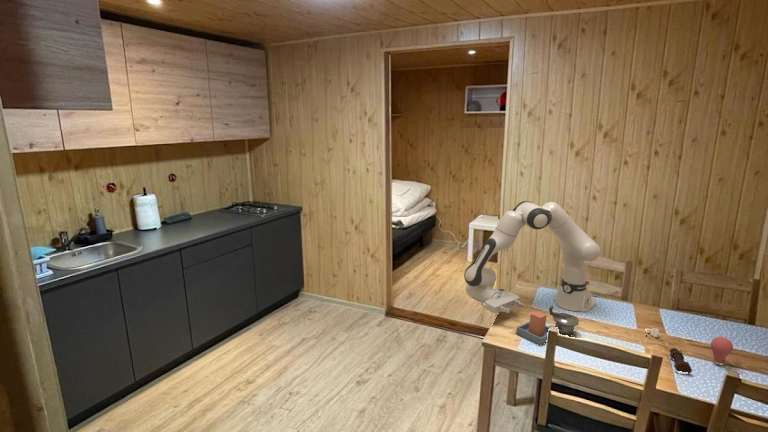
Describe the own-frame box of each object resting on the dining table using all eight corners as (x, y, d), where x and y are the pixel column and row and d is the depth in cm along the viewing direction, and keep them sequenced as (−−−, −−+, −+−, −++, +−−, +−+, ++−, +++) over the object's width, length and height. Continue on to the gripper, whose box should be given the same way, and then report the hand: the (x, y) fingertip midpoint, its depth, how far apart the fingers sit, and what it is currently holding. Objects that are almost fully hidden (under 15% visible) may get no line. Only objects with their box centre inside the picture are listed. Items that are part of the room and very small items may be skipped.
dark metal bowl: (579, 331, 195) (582, 310, 193) (573, 341, 187) (576, 319, 184) (550, 322, 203) (553, 302, 201) (543, 331, 195) (546, 310, 192)
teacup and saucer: (642, 330, 199) (643, 322, 198) (661, 334, 195) (663, 326, 194) (644, 339, 191) (645, 331, 190) (664, 343, 188) (666, 335, 187)
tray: (532, 326, 199) (533, 319, 198) (556, 337, 189) (557, 330, 188) (516, 334, 192) (516, 327, 191) (540, 346, 182) (541, 339, 181)
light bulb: (702, 359, 175) (708, 333, 172) (718, 359, 175) (724, 333, 172) (716, 369, 168) (723, 342, 165) (733, 369, 168) (739, 342, 166)
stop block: (534, 330, 194) (536, 310, 191) (544, 335, 190) (546, 315, 187) (528, 333, 191) (530, 313, 188) (537, 338, 187) (540, 317, 185)
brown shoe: (674, 359, 178) (684, 378, 164) (663, 351, 179) (672, 369, 165) (684, 350, 175) (695, 368, 162) (673, 342, 177) (683, 359, 163)
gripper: (479, 297, 202) (502, 308, 191) (506, 288, 214) (529, 297, 203) (478, 309, 204) (501, 320, 193) (505, 299, 215) (528, 309, 205)
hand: (516, 308), depth 198 cm, fingers open, 8 cm apart
